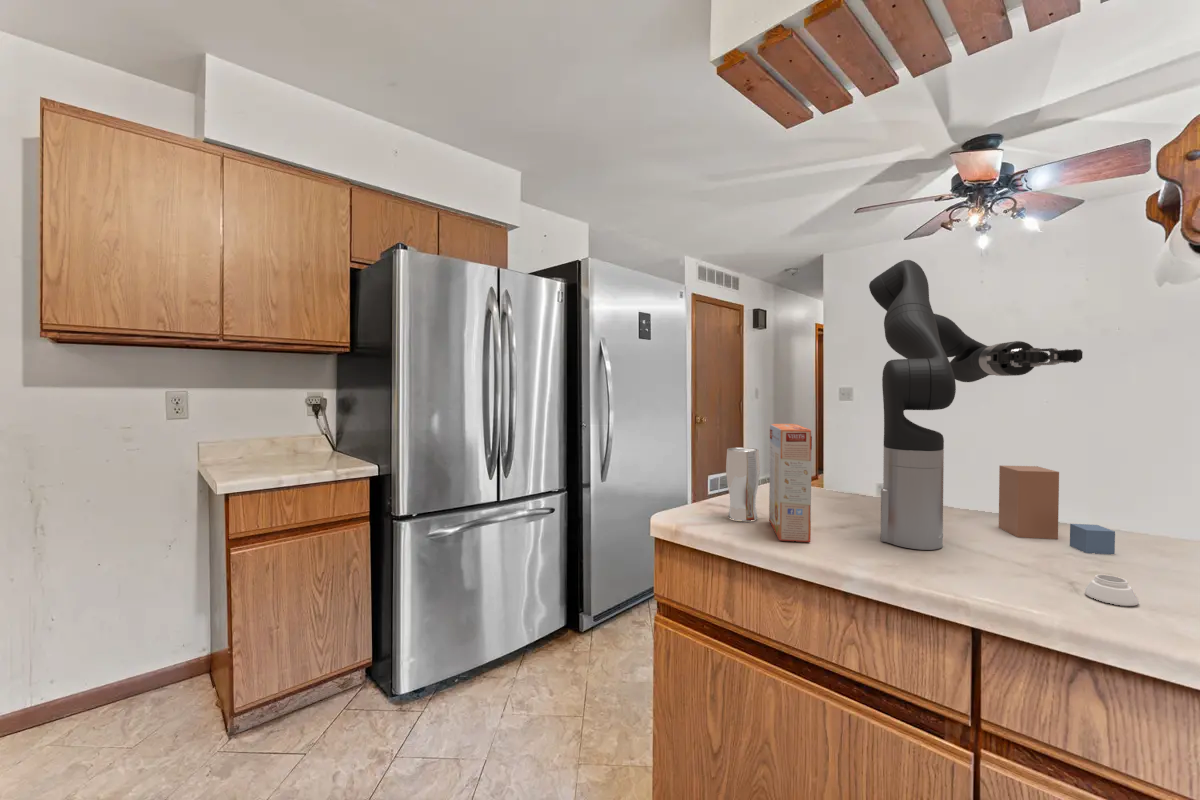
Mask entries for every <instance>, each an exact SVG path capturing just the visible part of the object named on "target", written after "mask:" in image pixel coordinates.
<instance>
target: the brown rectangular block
mask: <svg viewBox="0 0 1200 800" xmlns="http://www.w3.org/2000/svg"><path fill="white" fill-rule="evenodd" d="M998 471H999V475H998V476H999V477H998V478H999V479H998V481H999V483H998V485H999V486H998V488H999V489H998V529H1000V530H1003V531H1005V532H1006V533H1008V534H1010V535H1012V536H1015V537H1016V538H1026V539H1027V538H1029V539H1049V540H1058V539H1059V504H1060V503H1059V502H1060V501H1059V497H1060V492H1059V491H1060V471H1056V470H1054V469H1049V468H1045V467H1042V466H1037V465H1036V466H1035V465H999V470H998Z"/></svg>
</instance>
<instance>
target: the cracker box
mask: <svg viewBox="0 0 1200 800" xmlns="http://www.w3.org/2000/svg"><path fill="white" fill-rule="evenodd" d="M812 444H813V430H812V429H810V428H808V427H805V426H802V425H799V424H798V423H797V424H796V423H771V424H769V500H768V501H769V506H768V507H769V508H768V510H769V511H768V513H769V514H768V521H770V522H769V523H771V524H770V526H771V527H772V530H773V531H774V534H776V537H777V539H778V540H779V541H781V542H782V541H783V542H794V541H796V542H798V543H811V535H812V534H811V530H812V529H811V528H812V526H811V525H812V521H811V520H812V460H813V459H812V454H813V453H812V452H813V451H812V448H813V445H812Z"/></svg>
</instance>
